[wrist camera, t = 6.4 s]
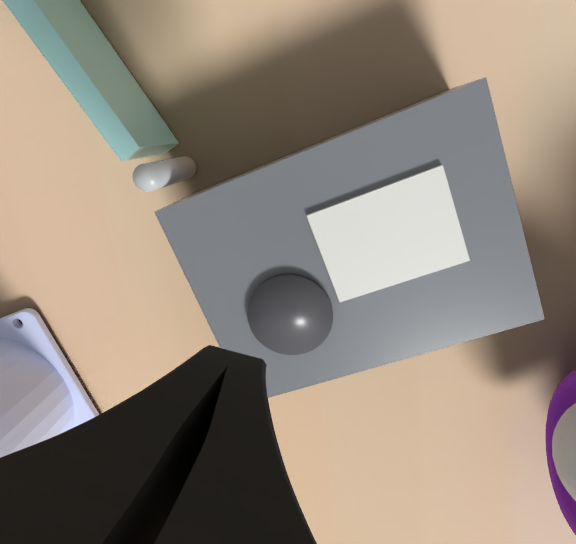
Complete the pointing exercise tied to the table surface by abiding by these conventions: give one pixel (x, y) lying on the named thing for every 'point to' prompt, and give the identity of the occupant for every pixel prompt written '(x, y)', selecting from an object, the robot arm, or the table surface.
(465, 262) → the camera case
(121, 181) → the table surface
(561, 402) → the toy camera
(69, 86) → the teal bar
